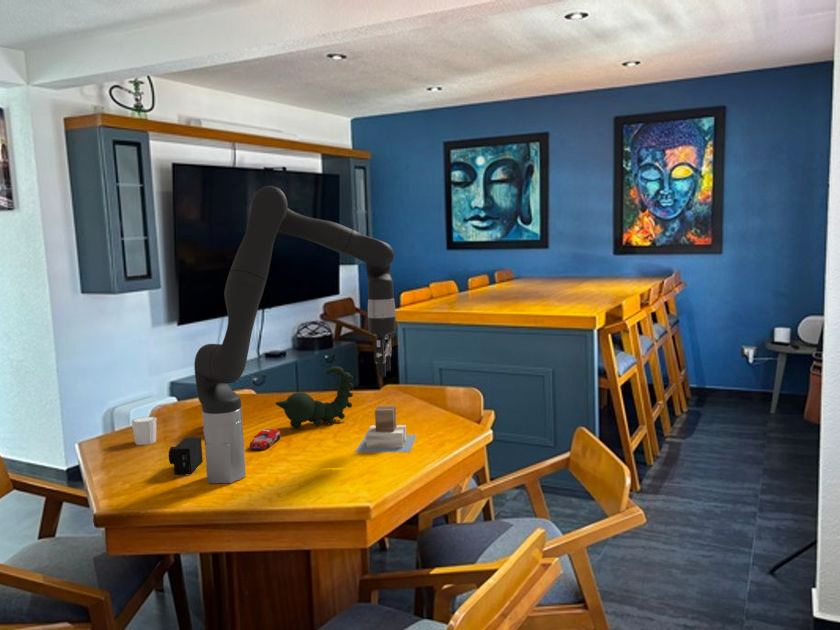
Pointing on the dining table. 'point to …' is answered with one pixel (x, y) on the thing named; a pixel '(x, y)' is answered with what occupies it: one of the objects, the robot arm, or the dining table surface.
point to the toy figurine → (318, 403)
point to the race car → (265, 439)
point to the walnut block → (385, 418)
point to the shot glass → (144, 430)
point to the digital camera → (186, 455)
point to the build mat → (406, 448)
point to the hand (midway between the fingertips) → (384, 373)
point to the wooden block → (386, 438)
